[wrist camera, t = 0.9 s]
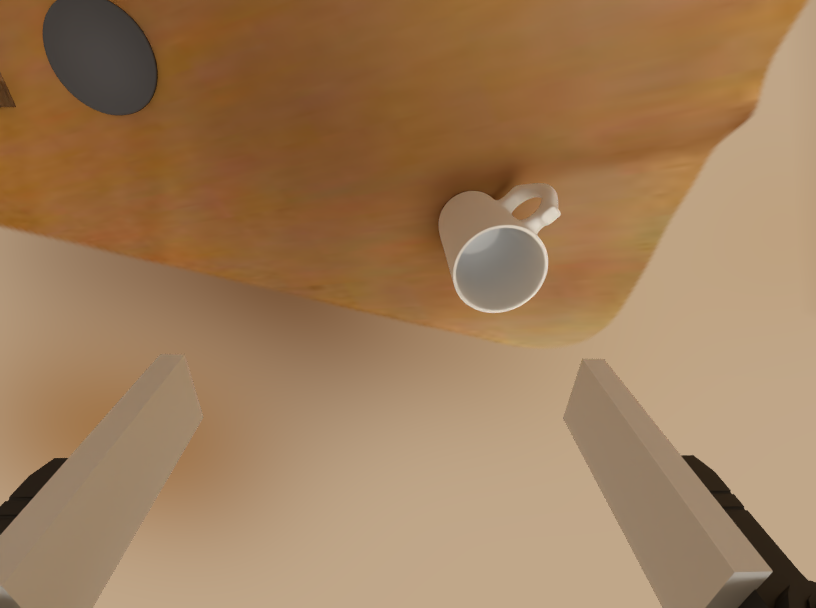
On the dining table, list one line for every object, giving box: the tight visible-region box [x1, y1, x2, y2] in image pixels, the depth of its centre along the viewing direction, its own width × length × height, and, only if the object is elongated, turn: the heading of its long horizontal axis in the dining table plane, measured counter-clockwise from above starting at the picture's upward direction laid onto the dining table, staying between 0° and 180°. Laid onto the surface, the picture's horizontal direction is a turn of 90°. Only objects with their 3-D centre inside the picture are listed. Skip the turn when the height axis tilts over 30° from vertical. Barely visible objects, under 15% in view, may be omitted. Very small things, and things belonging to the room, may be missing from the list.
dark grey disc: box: [43, 0, 157, 115], centre depth 30 cm, size 8×8×1 cm
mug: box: [438, 183, 561, 313], centre depth 32 cm, size 10×7×12 cm, turn 136°
